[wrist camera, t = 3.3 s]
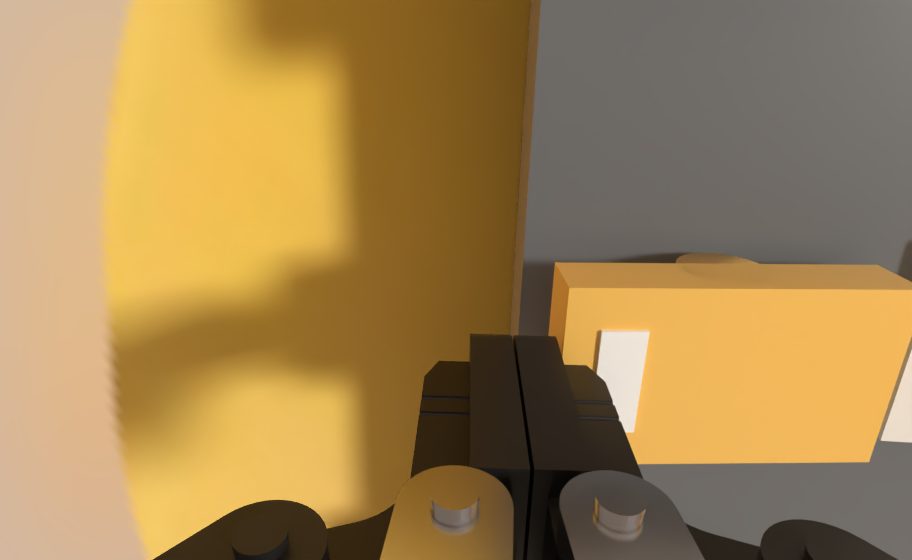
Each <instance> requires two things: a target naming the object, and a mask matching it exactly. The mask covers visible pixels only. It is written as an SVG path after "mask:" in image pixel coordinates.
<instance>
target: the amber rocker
mask: <svg viewBox="0 0 912 560" xmlns="http://www.w3.org/2000/svg"><path fill="white" fill-rule="evenodd" d="M548 336H556V338H557V341H558V344H559V348H560V351H561V355H562V358H563V362H564V365H587V366H588V367H589V368H590V369H591V370H593V371H594V372H595V373H596V374H597V375H598V376H599V377H600V378H602V379H603V380H604V381H605V382H606V385H607V387H608V390H609V392H610V395H611V397H612V400H613V405H615V408H616V410H617V413H618V415H619V421H621V423H622V425H623V428H624V431H625V433H626V436H627V438H628V441H629V443H630V446H631V448H632V451H633V454H634V456H635V459H636V461H637V464H720V463H836V462H869V461H870V458H871V455H872V452H873V449H874V446H875V443H876V440H877V437H878V434H879V431H880V428H881V425H882V422H883V419H884V416H885V413H886V410H887V407H888V404H889V401H890V399H891V396H892V393H893V390H894V387H895V384H896V381H897V378H898V375H899V372H900V369H901V366H902V363H903V360H904V357H905V354H906V351H907V348H908V345H909V342H910V339H911V336H912V282H910V281H909V280H907V279H905V278H903V277H901V276H899V275H897V274H895V273H893V272H891V271H889V270H887V269H885V268H883V267H881V266H879V265H835V264H759V263H756V262H754V261H751V260H748V259H744V258H740V257H736V256H731V255H725V254H717V253H692V254H686V255H683V256H680V257H679V258H678V259H677V260H676V263H566V262H555V267H554V279H553V290H552V301H551V312H550V323H549V335H548Z"/></svg>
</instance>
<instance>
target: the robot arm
mask: <svg viewBox="0 0 912 560" xmlns="http://www.w3.org/2000/svg"><path fill="white" fill-rule="evenodd" d="M153 560H898V559H896V558H894V557H893V556H891V555H889V554H887V553H886V552H884V551H882V550H880V549H879V548H877V547H875V546H873V545H872V544H870V543H868V542H866V541H865V540H863V539H861V538H859V537H857V536H855V535H854V534H852V533H850V532H847V531H845V530H843V529H840V528H838V527H835V526H832V525H829V524H826V523H821V522H817V521H812V520H803V519H791V520H785V521H781V522H778V523H775V524H773V525H772V526H770V527H769V528H768V529H767V530H766V531H765V532H764V534H763V537H762V539H761V543H760V546H755V545H752V544H748V543H744V542H741V541H737V540H733V539H730V538H726V537H722V536H719V535H715V534H712V533H709V532H705V531H702V530H700V529H697V528H695V527H693V526H690V525H688V524H687V523H685V522H684V520H683V518H682V517H681V515H680V513H679V511H678V509H677V508H676V506H675V504H674V503H673V501H672V500H671V499H670V498H669V497H668V496H667V495H666V494H665V493H664V492H663V491H662V490H660V489H659V488H658V487H656V486H655V485H653V484H652V483H650V482H648V481H646V480H644V479H643V476H642V474H641V471H640V469H639V466H638V464H637V461H636V459H635V456H634V454H633V451H632V448H631V446H630V443H629V441H628V438H627V436H626V433H625V431H624V428H623V425H622V423H621V421H619V415H618V413H617V410H616V408H615V405H613V400H612V397H611V395H610V392H609V390H608V387H607V385H606V382H605V381H604V380H603V379H602V378H600V377H599V376H598V375H597V374H596V373H595V372H594V371H593V370H591V369H590V368H589V367H588V366H587V365H564V362H563V358H562V355H561V351H560V348H559V344H558V341H557V338H556V336H528V335H514V336H513V340H512V335H491V334H470V351H469V362H456V361H439V362H438V363H437V364H436V365H435V366H434V367H433V368H432V369H431V370H430V371H429V372H428V373H427V374H426V376H425V377H424V384H423V392H422V399H421V406H420V415H419V421H418V428H417V435H416V442H415V450H414V457H413V464H412V471H411V478H410V479H409V480H408V481H407V482H406V483H405V484H404V485H403V487H402V488H401V490H400V491H399V493H398V496H397V498H396V502H395V504H394V505H392V506H391V507H390V508H388V509H387V510H385V511H384V512H382V513H380V514H378V515H376V516H374V517H371V518H369V519H366V520H362V521H359V522H355V523H351V524H346V525H342V526H337V527H333V528H328V529H326V526H325V523H324V521H323V520H322V518H321V517H320V516H319V515H318V514H317V513H316V512H315V511H314V510H312V509H311V508H309V507H307V506H305V505H303V504H300V503H297V502H293V501H286V500H268V501H262V502H257V503H253V504H249V505H246V506H244V507H241V508H239V509H236V510H234V511H232V512H231V513H229V514H227V515H225V516H223V517H222V518H220V519H219V520H217V521H215V522H214V523H212V524H210V525H209V526H207V527H205V528H204V529H202V530H201V531H199V532H197V533H196V534H194V535H192V536H191V537H189V538H187V539H186V540H184V541H183V542H181V543H179V544H178V545H176V546H174V547H173V548H171V549H169V550H168V551H166V552H165V553H163V554H161V555H160V556H158V557H156V558H155V559H153Z"/></svg>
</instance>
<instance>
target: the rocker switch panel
mask: <svg viewBox="0 0 912 560" xmlns="http://www.w3.org/2000/svg"><path fill="white" fill-rule="evenodd" d="M692 253H717V254H725V255H731V256H736V257H740V258H744V259H748V260H751V261H754V262H756V263H759V264H835V265H879V266H881V267H883V268H885V269H887V270H889V271H891V272H893V273H895V274H897V275H899V276H901V277H903V278H905V279H907V280H909V281H910V282H912V0H531V3H530V19H529V35H528V51H527V67H526V83H525V99H524V115H523V131H522V147H521V162H520V178H519V194H518V210H517V226H516V242H515V258H514V274H513V290H512V306H511V322H510V335H512V340H513V336H514V335H528V336H548V335H549V323H550V312H551V301H552V290H553V279H554V267H555V262H566V263H676V260H677V259H678V258H679V257H680V256H683V255H686V254H692ZM638 466H639V469H640V471H641V474H642V476H643V479H644V480H646V481H648V482H650V483H652V484H653V485H655V486H656V487H658V488H659V489H660V490H662V491H663V492H664V493H665V494H666V495H667V496H668V497H669V498H670V499H671V500H672V501H673V503H674V504H675V506H676V508H677V509H678V511H679V513H680V515H681V517H682V518H683V520H684V522H685V523H687V524H688V525H690V526H693V527H695V528H697V529H700V530H702V531H705V532H709V533H712V534H715V535H719V536H722V537H726V538H730V539H733V540H737V541H741V542H744V543H748V544H752V545H755V546H760V543H761V539H762V537H763V534H764V532H765V531H766V530H767V529H768V528H769V527H770V526H772V525H773V524H775V523H778V522H781V521H785V520H791V519H803V520H812V521H817V522H821V523H826V524H829V525H832V526H835V527H838V528H840V529H843V530H845V531H847V532H850V533H852V534H854V535H855V536H857V537H859V538H861V539H863V540H865V541H866V542H868V543H870V544H872V545H873V546H875V547H877V548H879V549H880V550H882V551H884V552H886V553H887V554H889V555H891V556H893V557H894V558H896V559H898V560H912V336H911V339H910V342H909V345H908V348H907V351H906V354H905V357H904V360H903V363H902V366H901V369H900V372H899V375H898V378H897V381H896V384H895V387H894V390H893V393H892V396H891V399H890V401H889V404H888V407H887V410H886V413H885V416H884V419H883V422H882V425H881V428H880V431H879V434H878V437H877V440H876V443H875V446H874V449H873V452H872V455H871V458H870V461H869V462H836V463H720V464H638Z"/></svg>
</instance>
